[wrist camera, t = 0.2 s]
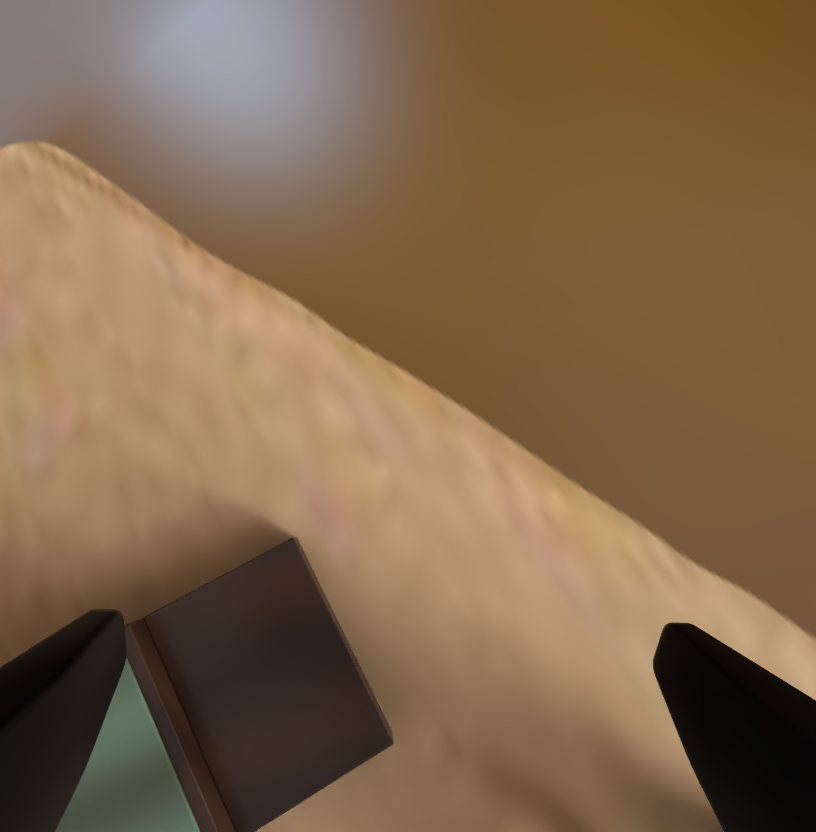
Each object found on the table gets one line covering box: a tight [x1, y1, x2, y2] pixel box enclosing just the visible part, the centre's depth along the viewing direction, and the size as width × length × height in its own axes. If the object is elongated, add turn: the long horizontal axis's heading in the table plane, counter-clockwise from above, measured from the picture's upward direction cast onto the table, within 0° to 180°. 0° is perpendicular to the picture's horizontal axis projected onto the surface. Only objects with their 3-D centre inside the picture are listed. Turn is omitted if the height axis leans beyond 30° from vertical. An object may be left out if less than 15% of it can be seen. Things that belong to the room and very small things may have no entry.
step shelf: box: [55, 537, 394, 832], centre depth 18 cm, size 9×24×4 cm, turn 118°
